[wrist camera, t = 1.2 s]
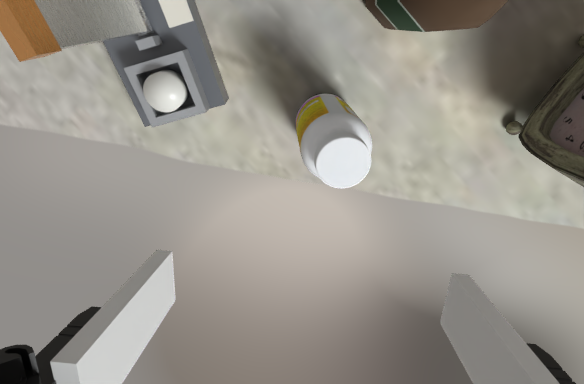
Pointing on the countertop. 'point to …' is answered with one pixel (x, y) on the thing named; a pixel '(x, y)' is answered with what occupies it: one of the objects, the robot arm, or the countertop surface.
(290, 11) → the countertop surface
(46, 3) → the paddle lever
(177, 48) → the switch panel
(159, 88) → the push button
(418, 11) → the beer bottle
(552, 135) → the tabletop clock
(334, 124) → the supplement bottle
